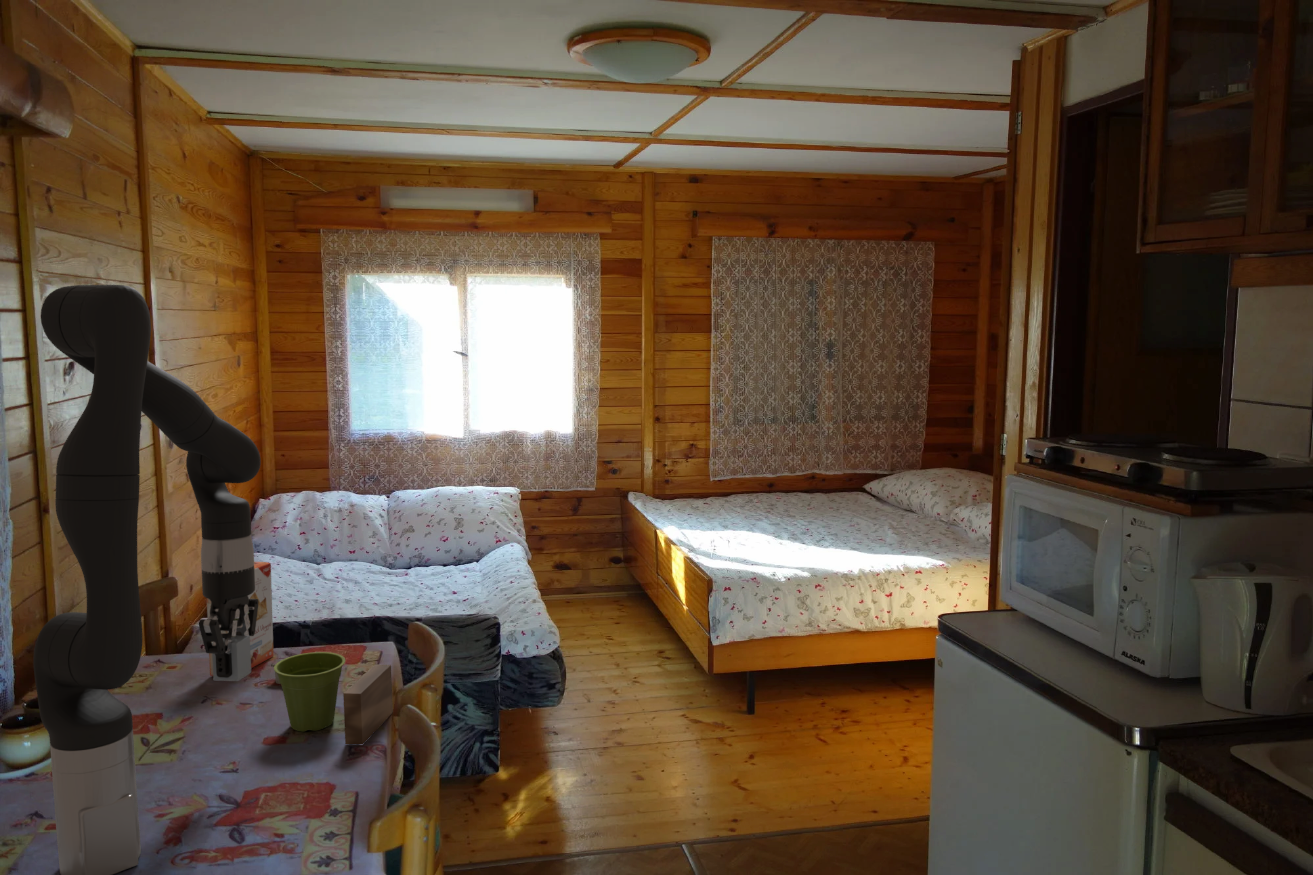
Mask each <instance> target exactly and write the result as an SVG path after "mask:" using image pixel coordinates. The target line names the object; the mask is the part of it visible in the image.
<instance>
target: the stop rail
mask: <svg viewBox="0 0 1313 875" xmlns="http://www.w3.org/2000/svg"><path fill="white" fill-rule="evenodd" d="M392 680H393V679H392V664H380V663H379V664H377V663H376V664H374V665H373V666H372V667H371V668H370V669H369V670H366V672H365V673H364V674H363V675H362V676H361V677H359V679H357V680H356V681H355V682H354V683H353V684H352V685H351V686H350V687H348V689H346V690H345V691H344V692H343V695H342V696H343V697H342V698H343V718H344V741H345V742H344V744H363V743H364V742H365V741H366V740H367V739H368V738H369V737H370V736H371V735H372V734H373V735H374V733H375V732H377V730H378V729H379V728H380V727H381V726H382V725H383V723H385V721H386V720H388V719H389V717H390V716H391V715H392V714H393V712H394V711H393V710H394V709H393V707H394V706H393V684H392ZM373 732H374V733H373ZM373 735H372V736H373ZM372 736H371V737H372ZM371 737H370V738H371ZM370 738H369V739H370ZM369 739H368V740H369ZM368 740H367V741H368ZM367 741H366V742H367ZM366 742H365V743H366ZM365 743H364V744H365ZM364 744H363V745H364Z"/></svg>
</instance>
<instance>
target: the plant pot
mask: <svg viewBox="0 0 1313 875" xmlns="http://www.w3.org/2000/svg"><path fill="white" fill-rule="evenodd" d="M345 664H346V658H345V657H344V655H341V654H339V653H336V652H330V651H329V652H328V651H319V652H318V651H316V652H313V651H312V652H307V653H306V652H305V653H300V654H295V655H291V656H289V657H285V658H283V659H281V660H279V661H278V662H277V663H275V666H274V667H273V671H274V673H275V672H276V673H277V674H278V677H279V681H280V684H279V685H281V688H282V693H283V697H284V703H285V705H286V711H287V715H288V720H289V724H290V728H291V729H293V730H294V731H297V732H307V731H314V732H315V731H320V730H323V729H325V728H328V727H330V726H331V725H332V724H333V722H334V720H335V714H336V708H337V699H338V691H339V683H340V678H341V675H342V669H343V666H344V665H345Z"/></svg>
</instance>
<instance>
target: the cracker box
mask: <svg viewBox="0 0 1313 875" xmlns="http://www.w3.org/2000/svg"><path fill="white" fill-rule="evenodd" d="M271 565H272V563H271V562H267V561H254V572H255V591H254V592H253V593H252V594H250V595H248V598H249V599H258V600H259V604H258V612H257V620H256V628H255V634H254V636H250V654H251V669H252V668H254V667H256V666H258V665H260V664H262V663H264V662H266V661H267V660H269V659H271V658H273V657H274V656H275V654H274V631H273V630H274V628H273V625H274V623H273V595H272V590H273V588H272V566H271ZM210 608H211V601H210V600H209V599H208V598H206V610H207V611H206V614H207V615H206V616H207V618H208V617H209V616H210ZM248 613H249V612H248ZM249 622H250V621H249ZM221 633H228V631H221ZM208 659H209V660H208V661H209V676H210V677H213V658H212V654H211V653H208Z"/></svg>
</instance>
